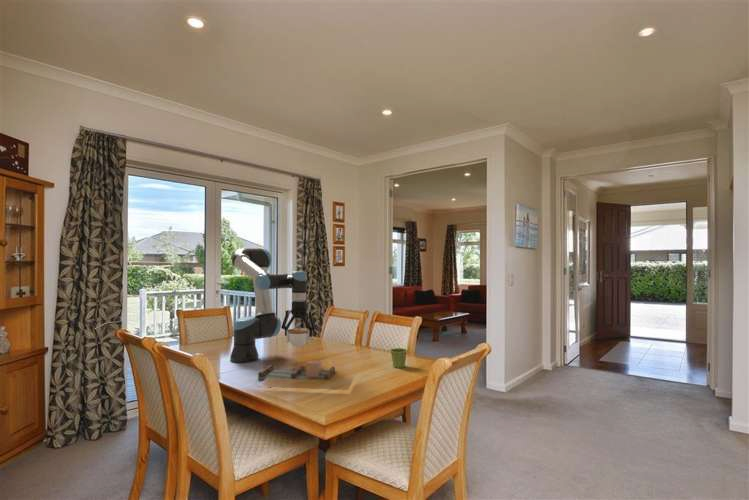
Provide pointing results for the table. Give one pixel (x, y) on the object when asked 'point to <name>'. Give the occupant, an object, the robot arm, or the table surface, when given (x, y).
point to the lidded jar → (298, 336)
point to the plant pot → (398, 357)
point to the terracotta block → (313, 368)
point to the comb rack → (292, 373)
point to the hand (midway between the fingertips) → (298, 342)
